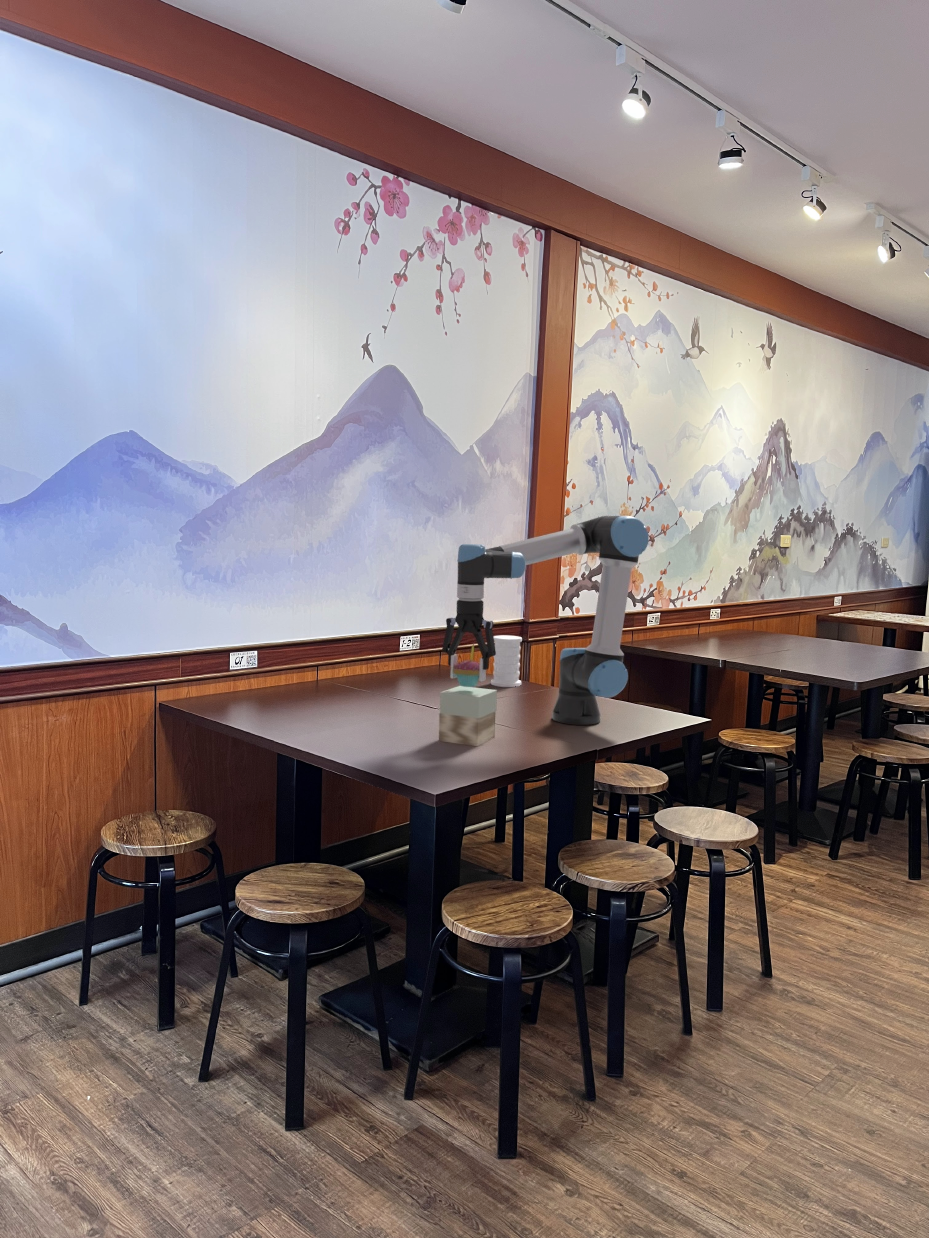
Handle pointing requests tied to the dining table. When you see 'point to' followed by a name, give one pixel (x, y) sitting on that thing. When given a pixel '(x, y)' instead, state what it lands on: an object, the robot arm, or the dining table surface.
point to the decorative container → (506, 661)
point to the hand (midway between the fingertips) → (467, 679)
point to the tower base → (466, 729)
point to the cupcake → (467, 671)
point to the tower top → (468, 701)
